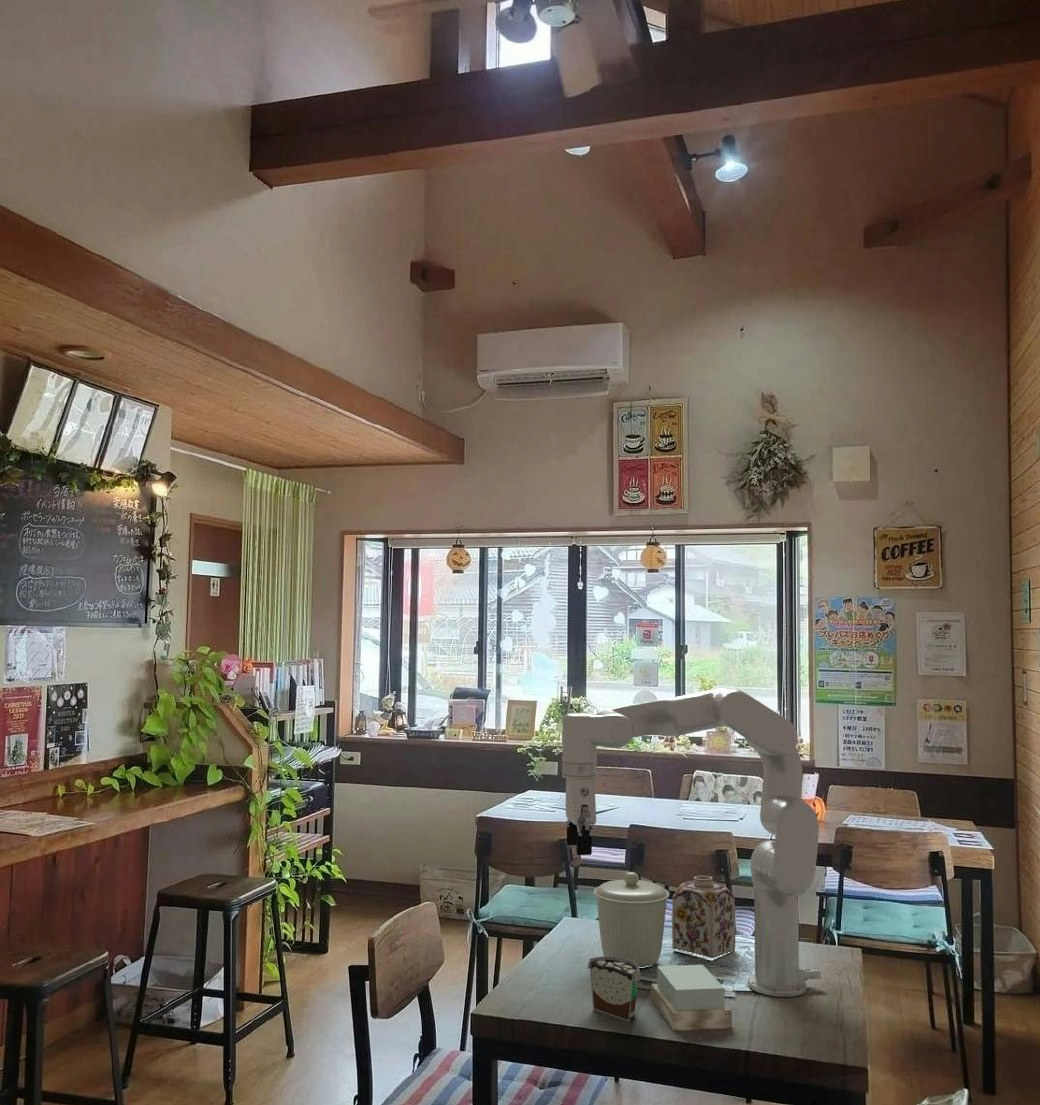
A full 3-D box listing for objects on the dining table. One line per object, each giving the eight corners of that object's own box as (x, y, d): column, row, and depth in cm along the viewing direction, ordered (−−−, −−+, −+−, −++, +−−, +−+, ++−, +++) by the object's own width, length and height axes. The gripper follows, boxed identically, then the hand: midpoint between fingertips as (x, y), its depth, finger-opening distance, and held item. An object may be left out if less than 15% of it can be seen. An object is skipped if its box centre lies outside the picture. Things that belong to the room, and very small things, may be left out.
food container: (653, 1015, 202) (653, 965, 203) (635, 1023, 197) (635, 972, 198) (605, 999, 210) (605, 951, 211) (587, 1007, 206) (587, 958, 206)
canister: (579, 957, 237) (579, 868, 239) (640, 946, 246) (640, 860, 248) (621, 981, 221) (621, 885, 223) (685, 968, 230) (684, 876, 232)
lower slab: (705, 1001, 211) (705, 981, 212) (731, 1031, 196) (731, 1010, 196) (651, 1003, 210) (651, 984, 210) (673, 1034, 194) (673, 1013, 194)
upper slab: (702, 984, 210) (702, 964, 211) (724, 1008, 197) (724, 988, 197) (657, 985, 209) (657, 966, 209) (676, 1010, 195) (676, 989, 196)
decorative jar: (712, 963, 234) (712, 885, 236) (670, 952, 242) (670, 877, 243) (737, 951, 243) (736, 876, 245) (696, 941, 251) (695, 869, 252)
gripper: (606, 775, 207) (605, 858, 206) (586, 764, 224) (586, 841, 223) (571, 776, 206) (570, 859, 205) (554, 765, 223) (554, 841, 222)
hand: (578, 849), depth 214 cm, fingers open, 9 cm apart
